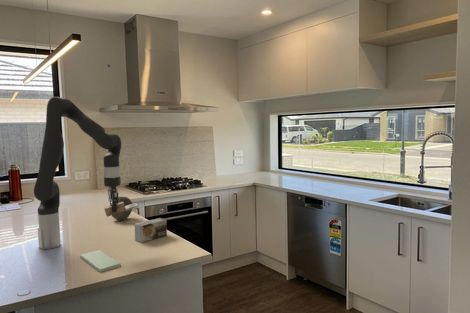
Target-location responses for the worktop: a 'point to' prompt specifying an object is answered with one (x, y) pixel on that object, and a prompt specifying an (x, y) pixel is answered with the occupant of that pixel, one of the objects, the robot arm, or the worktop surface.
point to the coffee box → (150, 230)
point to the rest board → (100, 260)
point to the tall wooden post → (119, 208)
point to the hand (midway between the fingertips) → (113, 211)
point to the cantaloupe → (123, 214)
